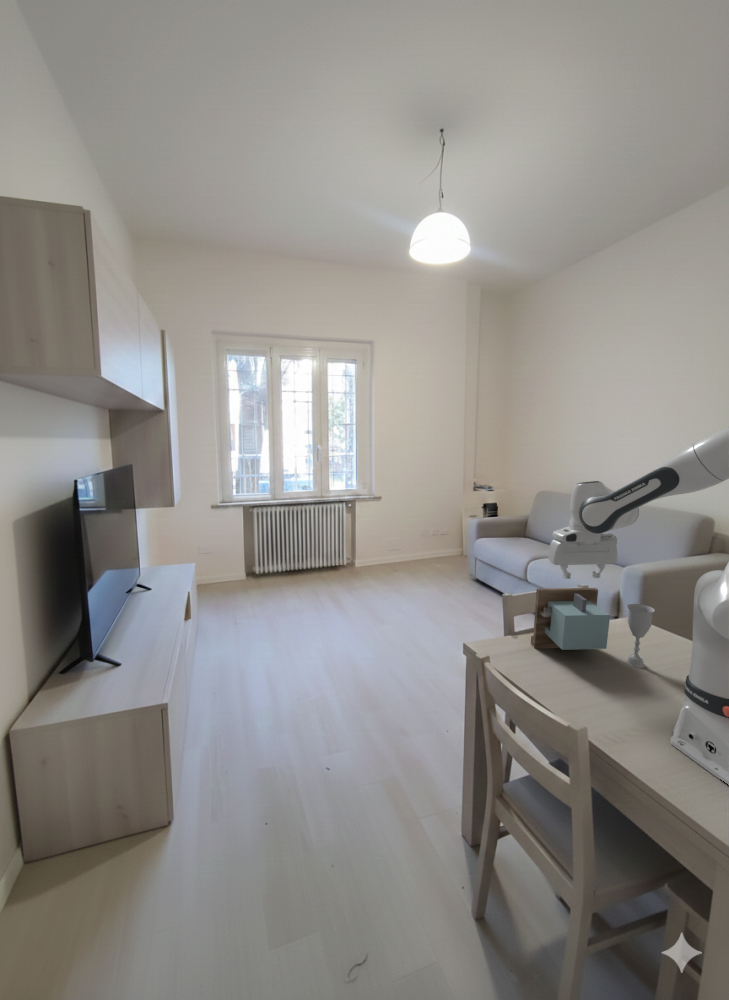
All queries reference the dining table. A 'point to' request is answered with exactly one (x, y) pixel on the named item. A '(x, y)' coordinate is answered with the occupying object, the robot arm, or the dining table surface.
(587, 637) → the cabinet
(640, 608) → the chalice
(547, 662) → the dining table surface
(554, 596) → the wall board
